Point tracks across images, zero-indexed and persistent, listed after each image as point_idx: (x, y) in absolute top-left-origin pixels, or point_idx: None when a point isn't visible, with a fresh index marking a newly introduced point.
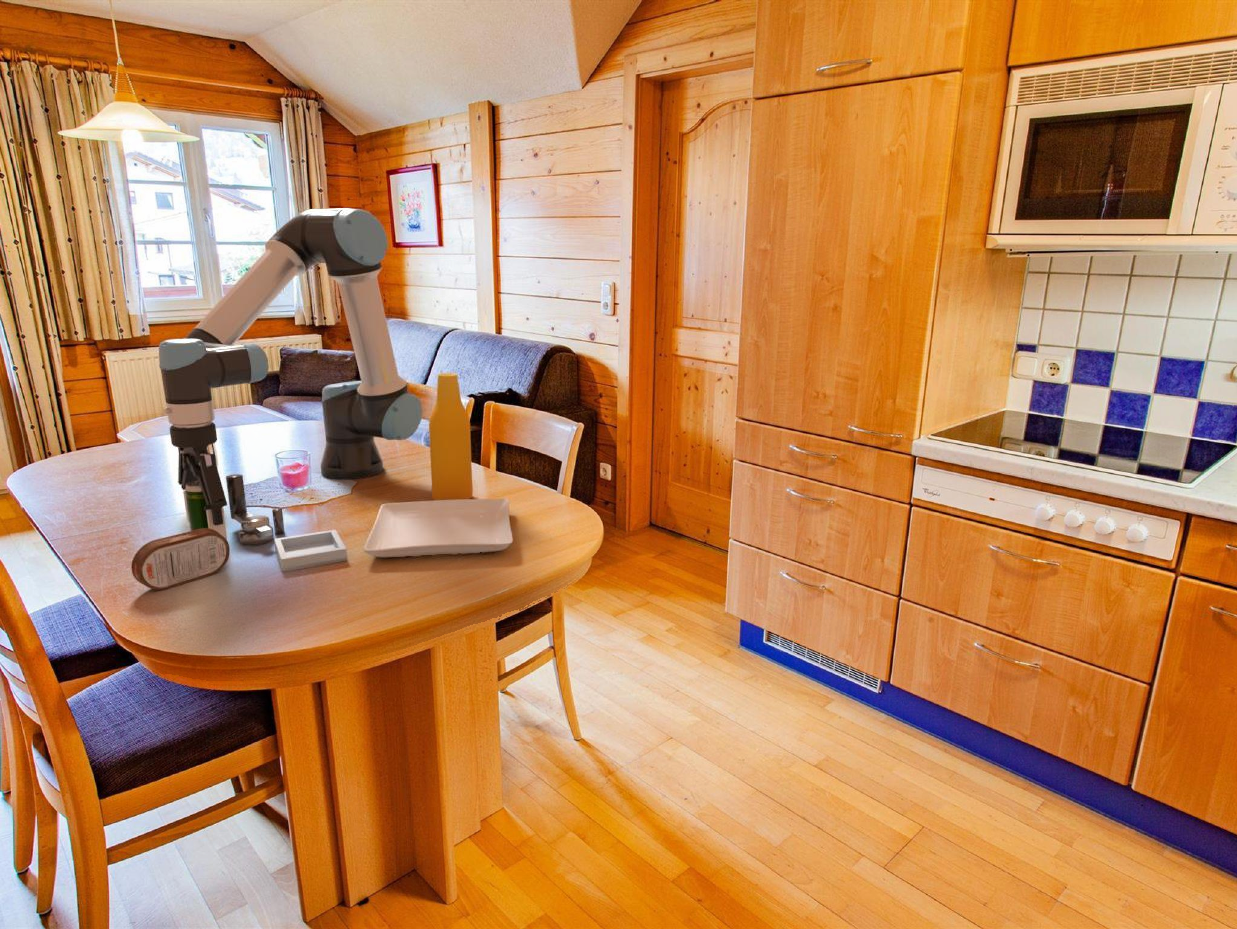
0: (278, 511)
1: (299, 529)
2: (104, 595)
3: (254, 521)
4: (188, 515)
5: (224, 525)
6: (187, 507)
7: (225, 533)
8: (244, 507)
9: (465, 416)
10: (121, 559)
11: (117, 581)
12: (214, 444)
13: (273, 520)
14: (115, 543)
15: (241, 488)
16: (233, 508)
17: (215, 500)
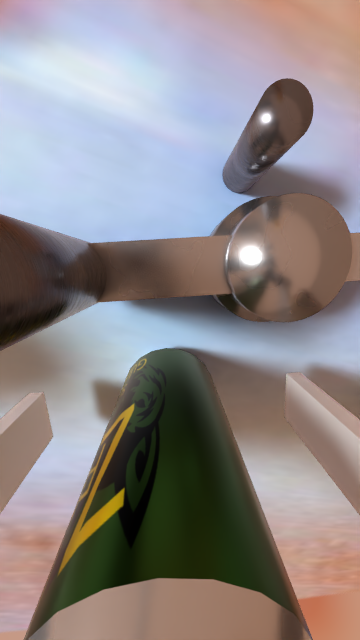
0: (308, 117)
1: (248, 89)
2: (349, 584)
3: (312, 269)
4: (35, 457)
5: (333, 402)
6: (13, 490)
7: (311, 384)
8: (89, 251)
9: None
10: None
11: (296, 565)
12: None
13: (258, 170)
14: (41, 554)
15: (27, 244)
16: (88, 305)
17: (244, 481)
